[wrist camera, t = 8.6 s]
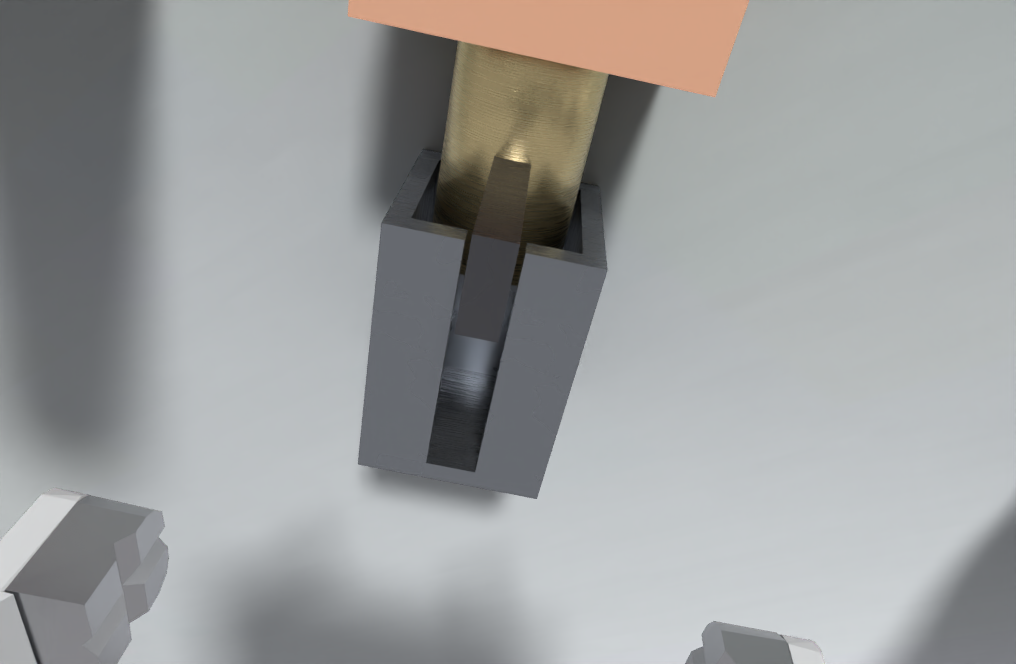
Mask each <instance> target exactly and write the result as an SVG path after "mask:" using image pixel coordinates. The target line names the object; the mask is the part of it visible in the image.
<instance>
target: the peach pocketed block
mask: <svg viewBox="0 0 1016 664" xmlns="http://www.w3.org/2000/svg"><path fill="white" fill-rule="evenodd" d="M748 2H749V0H349V5H348V16H349V17H353V18H358V19H362V20H367V21H371V22H376V23H381V24H385V25H390V26H394V27H399V28H403V29H408V30H412V31H417V32H421V33H426V34H430V35H435V36H439V37H444V38H449V39H453V40H458V41H462V42H467V43H471V44H476V45H480V46H485V47H489V48H494V49H498V50H503V51H508V52H512V53H517V54H521V55H526V56H530V57H535V58H539V59H544V60H548V61H553V62H557V63H562V64H566V65H571V66H576V67H580V68H585V69H589V70H594V71H598V72H603V73H607V74H612V75H616V76H621V77H625V78H630V79H634V80H639V81H644V82H648V83H653V84H657V85H662V86H666V87H671V88H675V89H680V90H684V91H689V92H693V93H698V94H702V95H707V96H712V97H715V96H716V93H717V91H718V88H719V85H720V82H721V79H722V76H723V74H724V71H725V68H726V65H727V62H728V59H729V56H730V54H731V51H732V48H733V45H734V42H735V39H736V37H737V34H738V31H739V28H740V25H741V22H742V20H743V17H744V14H745V11H746V8H747V5H748Z"/></svg>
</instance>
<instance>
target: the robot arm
mask: <svg viewBox="0 0 1016 664" xmlns="http://www.w3.org/2000/svg"><path fill="white" fill-rule="evenodd" d="M164 527H165V524H164V519H163V514H162V511H159V510H154V509H150V508H145V507H141V506H136V505H132V504H127V503H122V502H118V501H113V500H109V499H104V498H100V497H95V496H91V495H87V494H82V493H78V492H73V491H68V490H63V489H58V488H52V489H50V490H49V491H47V492H45V493H44V494H42V495H40V496H39V497H38V498H37V499H36V501H35V502H34V503H33V504H32V505H31V506H30V507H29V508H28V509H27V511H26V512H25V513H24V514H23V515H22V516H21V517H20V518H19V519H18V521H17V522H16V523H15V524H14V525H13V526H12V527H11V528H10V529H9V531H8V532H7V533H6V534H5V535H4V536H3V537H2V538H1V539H0V664H117V663H118V661H119V660H120V658H121V656H122V655H123V653H124V652H125V650H126V648H127V647H128V645H129V643H130V642H131V640H132V638H131V631H130V624H129V623H130V622H132V621H134V620H135V619H137V618H139V617H140V616H142V615H143V614H145V613H147V612H148V611H149V610H150V608H151V607H152V605H153V603H154V601H155V600H156V598H157V596H158V594H159V593H160V590H161V587H162V584H163V582H164V579H165V576H166V574H167V568H168V560H169V555H168V547H167V546H166V545H165V543H164V542H163V541H162V540H161V539H160V538H159V535H160V533H161V532H162V530H163V529H164ZM702 641H703V647H700V648H698V649H696V650H694V651H691V653H690V655H689V657H688V659H687V661H686V663H685V664H825V661H824V658H823V655H822V651H821V649H820V648H819V646H818V645H817V644H816V642H814V641H811V640H807V639H802V638H796V637H791V636H785V635H779V634H778V633H776V632H770V631H765V630H759V629H754V628H749V627H743V626H738V625H732V624H727V623H721V622H716V621H713V622H711V623H709V624H708V625H707V626H706V628H705V630H704V631H703V633H702Z"/></svg>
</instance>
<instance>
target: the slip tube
mask: <svg viewBox="0 0 1016 664" xmlns="http://www.w3.org/2000/svg"><path fill="white" fill-rule="evenodd" d="M608 76H609V74H607V73H603V72H598V71H594V70H589V69H585V68H580V67H576V66H571V65H566V64H562V63H557V62H553V61H548V60H544V59H539V58H535V57H530V56H526V55H521V54H517V53H512V52H508V51H503V50H498V49H494V48H489V47H485V46H480V45H476V44H471V43H467V42H462V41H458V44H457V51H456V58H455V65H454V72H453V79H452V86H451V93H450V100H449V107H448V114H447V122H446V129H445V136H444V143H443V150H442V157H441V164H440V171H439V178H438V185H437V192H436V199H435V206H434V213H433V220H432V223H437V224H442V225H447V226H451V227H456V228H461V229H466V230H468V232H467V237H466V243H465V249H464V255H463V260H462V266H461V272H460V274H462V275H465V277H464V283H463V288H462V294H461V299H460V305H459V311H458V316H457V322H456V327H455V333H454V334H456V335H461V336H466V337H471V338H476V339H481V340H486V341H491V342H496V343H498V341H499V336H500V332H501V327H502V323H503V318H504V314H505V310H506V305H507V301H508V296H509V292H510V287H511V285H517V284H518V280H519V275H520V271H521V267H522V262H523V258H524V253H525V249H526V245H527V242H528V243H533V244H537V245H542V246H547V247H552V248H556V249H561V250H563V247H564V243H565V239H566V236H567V232H568V228H569V224H570V220H571V217H572V213H573V209H574V205H575V201H576V198H577V194H578V190H579V186H580V182H581V179H582V175H583V171H584V167H585V163H586V160H587V156H588V152H589V148H590V144H591V141H592V137H593V133H594V129H595V125H596V122H597V118H598V114H599V110H600V106H601V103H602V99H603V95H604V91H605V87H606V84H607V80H608Z"/></svg>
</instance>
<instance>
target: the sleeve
mask: <svg viewBox="0 0 1016 664" xmlns="http://www.w3.org/2000/svg"><path fill="white" fill-rule="evenodd" d="M441 157H442V153H439V152H434V151H430V150H425V149H423V150H422V152H421V154H420V156H419V157H418V159H417V161H416V163H415V164H414V166H413V168H412V170H411V172H410V173H409V175H408V177H407V179H406V180H405V182H404V184H403V186H402V188H401V189H400V191H399V193H398V195H397V196H396V198H395V200H394V202H393V204H392V205H391V207H390V209H389V211H388V212H387V214H386V216H385V218H384V220H383V221H382V224H381V234H380V244H379V254H378V264H377V275H376V285H375V295H374V305H373V315H372V325H371V336H370V346H369V356H368V366H367V376H366V386H365V397H364V407H363V417H362V427H361V437H360V448H359V458H358V464H359V465H364V466H369V467H375V468H380V469H385V470H390V471H395V472H400V473H405V474H411V475H416V476H421V477H426V478H431V479H436V480H441V481H447V482H452V483H457V484H462V485H467V486H472V487H477V488H483V489H488V490H493V491H498V492H503V493H508V494H514V495H519V496H524V497H529V498H534V499H537V497H538V493H539V490H540V487H541V484H542V480H543V477H544V474H545V471H546V467H547V464H548V461H549V458H550V454H551V451H552V448H553V445H554V442H555V438H556V435H557V432H558V429H559V425H560V422H561V419H562V416H563V412H564V409H565V406H566V403H567V399H568V396H569V393H570V390H571V387H572V383H573V380H574V377H575V374H576V370H577V367H578V364H579V361H580V357H581V354H582V351H583V348H584V344H585V341H586V338H587V335H588V331H589V328H590V325H591V322H592V319H593V315H594V312H595V309H596V306H597V302H598V299H599V296H600V293H601V289H602V286H603V283H604V280H605V276H606V273H607V260H606V250H605V240H604V229H603V219H602V209H601V198H600V188H599V187H598V186H594V185H589V184H584V183H580V186H579V190H578V194H577V198H576V201H575V205H574V209H573V213H572V217H571V220H570V224H569V228H568V232H567V236H566V239H565V243H564V247H563V250H561V249H556V248H552V247H547V246H542V245H537V244H533V243H528V242H527V245H526V249H525V253H524V258H523V262H522V267H521V271H520V275H519V280H518V284H517V285H511V287H510V292H509V296H508V301H507V305H506V310H505V314H504V318H503V323H502V327H501V332H500V336H499V341H498V343H496V342H491V341H486V340H481V339H476V338H471V337H466V336H461V335H456V334H454V333H455V327H456V322H457V316H458V311H459V305H460V299H461V294H462V288H463V283H464V277H465V275H462V274H460V272H461V266H462V260H463V255H464V249H465V243H466V237H467V232H468V230H466V229H461V228H456V227H451V226H447V225H442V224H437V223H432V220H433V213H434V206H435V199H436V192H437V185H438V178H439V171H440V164H441Z"/></svg>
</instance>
